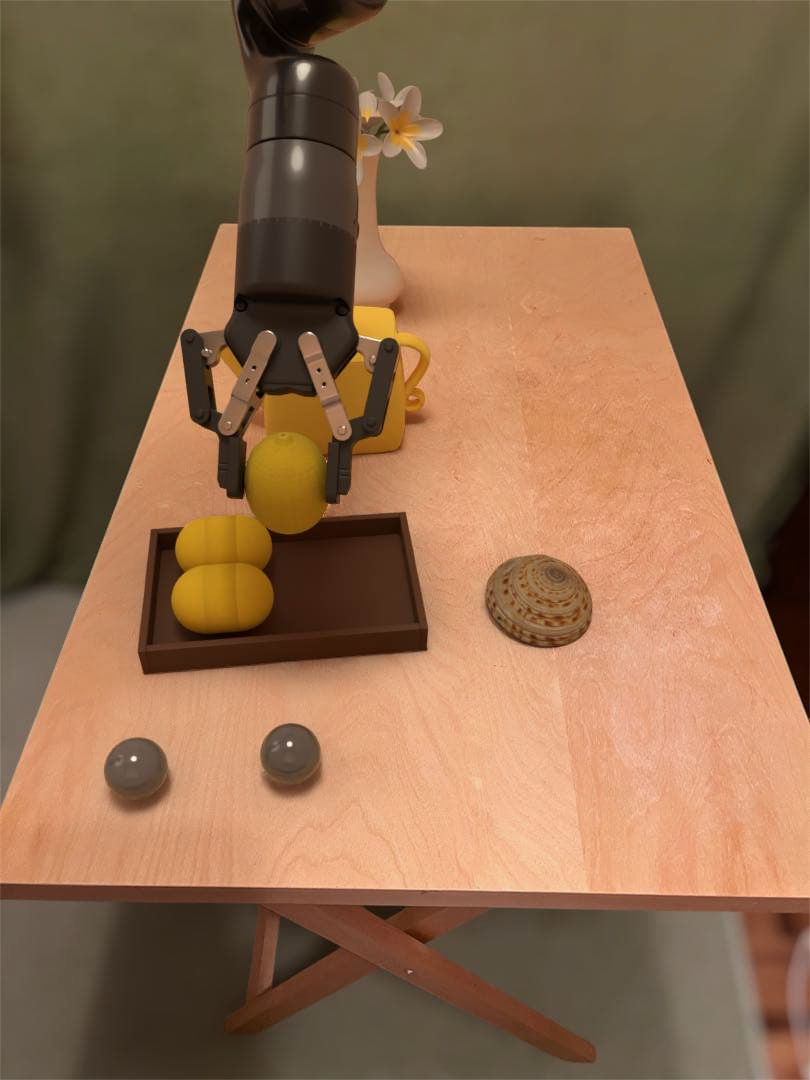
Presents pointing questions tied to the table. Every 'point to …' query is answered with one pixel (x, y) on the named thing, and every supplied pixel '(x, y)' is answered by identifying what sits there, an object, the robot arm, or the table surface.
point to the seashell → (539, 600)
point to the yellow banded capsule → (223, 542)
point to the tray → (299, 599)
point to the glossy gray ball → (135, 768)
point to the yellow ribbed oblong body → (222, 598)
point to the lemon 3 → (286, 482)
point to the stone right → (290, 753)
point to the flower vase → (374, 265)
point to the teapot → (351, 390)
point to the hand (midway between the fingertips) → (284, 499)
